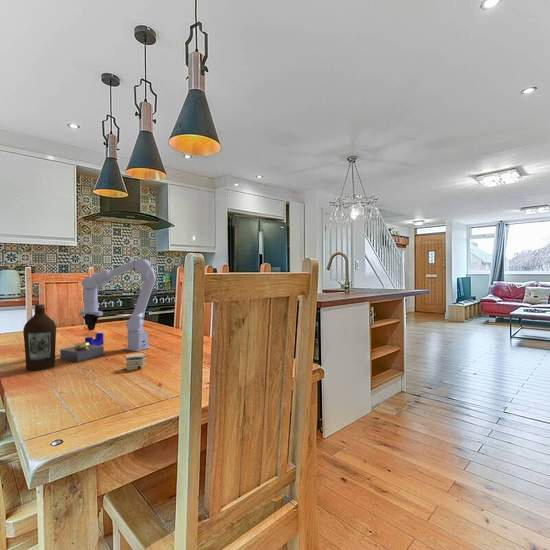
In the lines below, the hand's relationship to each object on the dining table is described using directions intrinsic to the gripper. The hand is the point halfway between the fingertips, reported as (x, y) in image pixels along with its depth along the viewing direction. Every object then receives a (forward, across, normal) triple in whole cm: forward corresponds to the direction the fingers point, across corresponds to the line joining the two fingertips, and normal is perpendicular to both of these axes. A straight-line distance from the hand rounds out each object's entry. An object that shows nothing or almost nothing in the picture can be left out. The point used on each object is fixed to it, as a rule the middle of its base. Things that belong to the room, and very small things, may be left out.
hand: (91, 330), depth 156 cm
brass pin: (+10, +7, -9) cm, 15 cm away
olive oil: (+10, +7, -26) cm, 29 cm away
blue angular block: (+10, -7, +6) cm, 14 cm away
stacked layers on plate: (+10, +42, -10) cm, 45 cm away
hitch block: (+10, +7, -9) cm, 15 cm away
